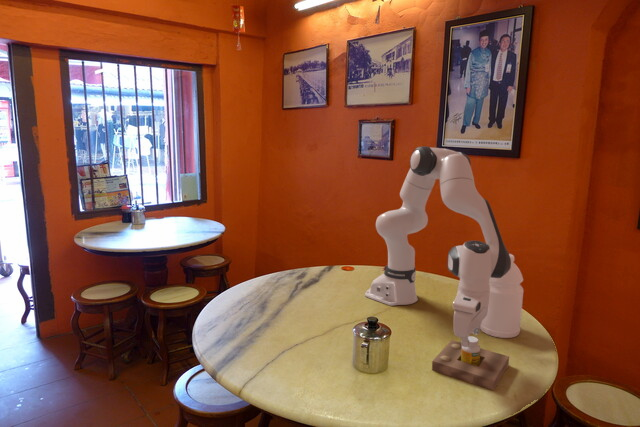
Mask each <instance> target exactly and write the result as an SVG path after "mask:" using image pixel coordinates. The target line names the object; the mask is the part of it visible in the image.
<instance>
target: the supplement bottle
mask: <svg viewBox="0 0 640 427" xmlns="http://www.w3.org/2000/svg"><path fill="white" fill-rule="evenodd" d="M468 340H469V345H468V346H467V347H463V346H462V348H461V361H462V362H465V363H468V364H472V365H475V366H478V367H479V363H480V348H481V347H480V345H479V339H478V338H477V337H475V336H471V335H469V337H468Z"/></svg>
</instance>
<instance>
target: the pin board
mask: <svg viewBox="0 0 640 427" xmlns="http://www.w3.org/2000/svg"><path fill="white" fill-rule="evenodd" d="M461 348H462V345H461V342H460V341H457V340H456V341H455V340H453V339H451V340H450V341H449V342H448V343H447V344H446V345H445V347H444V348H443V349H442V350H441V351H440V352H439V353H438V354H437V355H436V356H435V357H434V358H433V360H431V365H432V366H431V370H432V371H434V372H437V373H439V374H443V375H445V376H448V377H449V376H450V377H452V378H455V379H458V380H461V381H464V382H467V383H470V384H474V385H477V386H479V387H482V388H484V389H488V390H491V391H495V389H496V387H497V385H498V383H499V382H500V380H501V379H502V377H503V376H504V374H505V372H506V370H507V369H508V367H509V364H510V363H509V362H510V356H509V355H505V354H502V353H499V352H496V351H492V350H488V349H485V348H481V347H480V363H479V367H478V366H475V365H472V364H468V363H465V362H462V361H461Z"/></svg>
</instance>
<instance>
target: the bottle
mask: <svg viewBox="0 0 640 427" xmlns="http://www.w3.org/2000/svg"><path fill="white" fill-rule="evenodd" d="M509 255H510V259H511V268H510V270H509V271H508V272H507V273H506V274H505V275H504V276H503V277H501V278H491V277H490V280H489V284H490V298H489V305H488V312H487V316H486V317H485V318H484V319H483V320H482V322H481V326H480V331H481V333H482V332H483V333H484V334H486V335H488V336H492V337H495V338H499V339H500V338H501V339H510V338H515V337H517V336H519V334H520V333H521V321H522V311H523V310H522V309H523V299H524V290H525V289H524V288H523V286H522V285H521V283H523V281H524V277H523V274H522V272H521V270H520V268H519V267H518V265H517V264H516V263H515V259H516V258H515V255H513V254H512V253H509Z"/></svg>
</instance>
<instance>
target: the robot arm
mask: <svg viewBox="0 0 640 427" xmlns="http://www.w3.org/2000/svg"><path fill="white" fill-rule="evenodd" d="M409 167H410V168H409V170H408V172H407V175H406V177H405V179H404V181H403V184H402V186H401V189H400V190H399V191H400V192H399V197H400V199H401V200H402V205H401V207H400V208H398V209H393V210H388V211H386V212H383V213H381V214H380V215H379V216H377V218H376V221H375V230H376V231H377V233H378V235H379V236H381V238H382V239H383V240H384V242H385V245H386V246H387V265H385V266H384V267H382V271H384V272H383V273H382V274H379V276H377V277H376V278H374V279H373V280H372V281H371V285H370V288H368V289H367V290H366V291H365V293H364V297H365V298H369V299H371V300H375V301H377V302H378V303H379V302H380V303H382V304H384V305H387V306H392V307H393V306H398V305H399V306H400V305H401V306H402V305H403V306H405V305H411V304H414V303H417V301H418V296H417V291H416V284H415V283H416V277H417V275H416V272H417V271H416V270H417V269H416V266H415V264H416V263H415V262H416V261H415V260H416V259H415V258H416V257H415V256H416V250H415V247H413V245H412V244H410V243H409V239H408V235H411V234H414V233H418V232H419V231H421V230H423V229H424V228H426V227H427V225H428V223H429V217H428V214H427V212H426V205H427V202H428V199H429V197H430V195H431V193H432V190H433V188H434V186H435V184H436V181H437V180H439V190H440V197H441V200H442V203H443V204H444V206H446V207H447V208H448V209H449V210H451V211H453V212H455V213H458V214H461V215H464V216H467V217H469V218H471V219H473V220H475V221H476V222H477V223H478V224H479V227H480V228H481V232H482V234H483V238H484V241H485V242H483V241H480V240H468V241H465V242H464V243H463V244H462V245H455V246H453V247H451V249H450V250H449V251H448V253H447V261H446V262H447V264H446V265H447V268H446V269H447V270H448V271H449V272H450V273H452V274H453V275H454V276H455V277H456V278H457V277H458V278H459V282H458V285H457V286H458V288H457V291H456V293H457V294H456V296H455V298H454V300H453V302H452V309H454V311H453V312H454V313H453V328H452V329H453V334H454V335H455V337H458V338H459V339H460V341H461V342H460V343H461V345H462V346H463V347H467V346H468V345H469V340H468V337H469V336H471V334H473V335H475V336H477V335H479V333H480V331H481V329H480V326H481V322H482V320H483V319H484V318H485V317H486V316H487V312H488V305H489V298H490V284H489V280H490V277H491V278H501V277H503V276H504V275H505V274H506V273H507V272H508V271H509V270H510V268H511V259H510V255H509V254H510V253H509V251H508V249H507V247H506V245H505V243H504V241H503V238H502V235H501V232H500V229H499V226H498V224H497V220H496V218H495V215H494V212H493V210H492V207H491V205H490V202H489V201H488V200H487V199H486V198H484V197H483V196H482V195H481V194H480V193H479V191H478V190H477V188H476V184H475V177H474V175H473V174H474V173H473V170H472V164H471V159H470V157H469V155H467V154H466V153H463V152H461V151H456V150H452V149H448V148H442V147H441V148H439V147H431V146H425V145H424V146H423V145H422V146H418V147H416V148H415V149H414V151H412V153H411V156H410V159H409Z"/></svg>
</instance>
